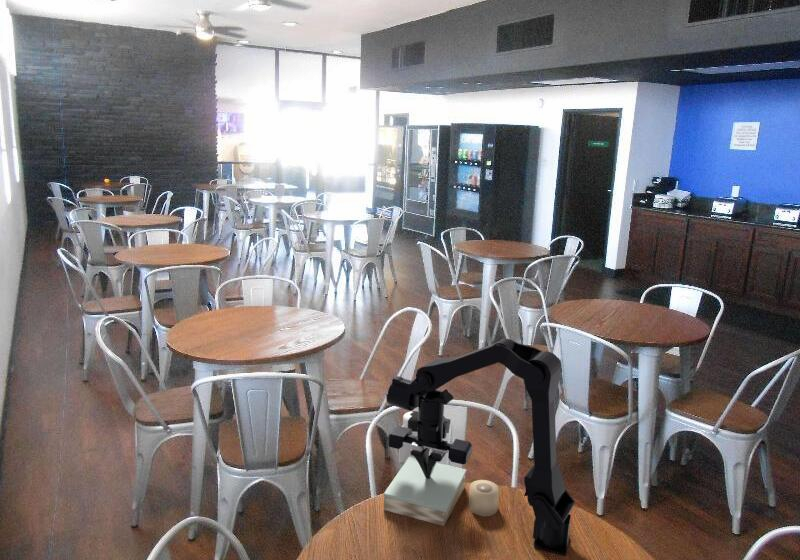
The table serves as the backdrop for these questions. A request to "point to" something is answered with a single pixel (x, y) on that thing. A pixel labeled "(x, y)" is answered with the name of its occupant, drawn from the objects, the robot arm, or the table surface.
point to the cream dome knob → (483, 498)
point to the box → (422, 508)
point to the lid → (426, 485)
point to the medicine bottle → (410, 422)
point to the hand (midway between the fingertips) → (428, 477)
